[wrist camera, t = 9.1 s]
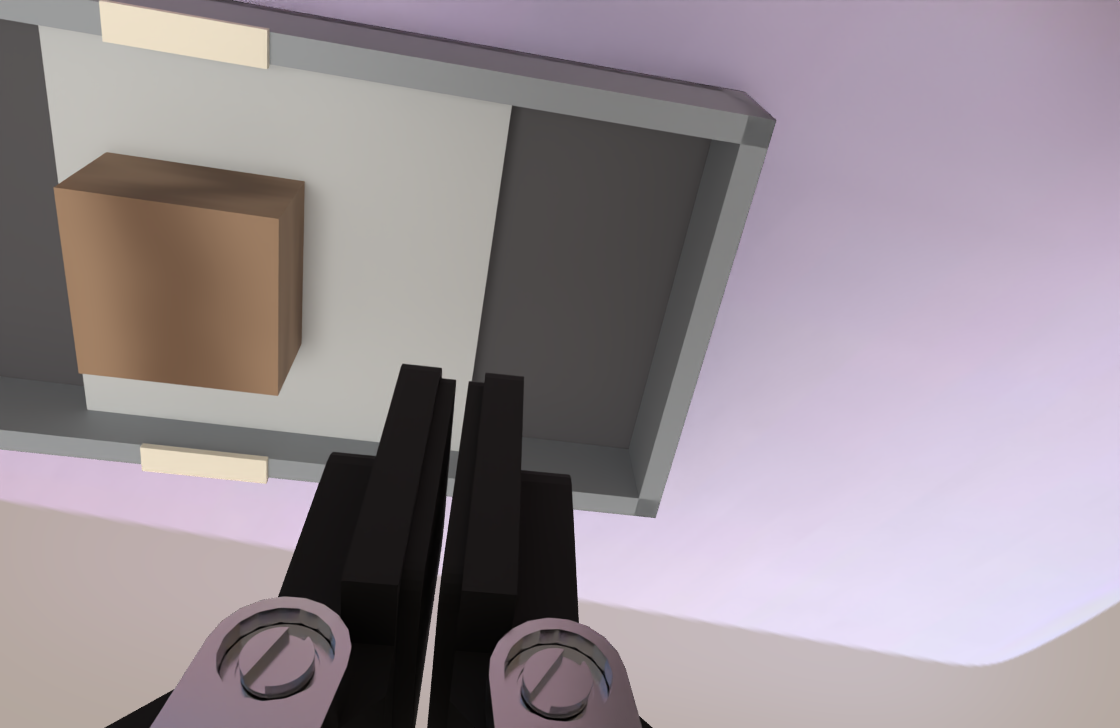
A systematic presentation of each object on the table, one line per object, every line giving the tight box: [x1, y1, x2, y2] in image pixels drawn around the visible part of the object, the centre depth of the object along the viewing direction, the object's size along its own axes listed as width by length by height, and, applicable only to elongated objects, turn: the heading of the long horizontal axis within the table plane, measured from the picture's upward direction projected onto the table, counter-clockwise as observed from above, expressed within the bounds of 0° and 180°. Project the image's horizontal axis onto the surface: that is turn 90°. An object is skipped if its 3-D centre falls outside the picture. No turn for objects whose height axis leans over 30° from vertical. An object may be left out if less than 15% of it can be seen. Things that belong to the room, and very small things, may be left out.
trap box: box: [0, 0, 776, 518], centre depth 32 cm, size 34×18×5 cm, turn 80°
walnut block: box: [53, 152, 305, 396], centre depth 30 cm, size 7×7×4 cm
